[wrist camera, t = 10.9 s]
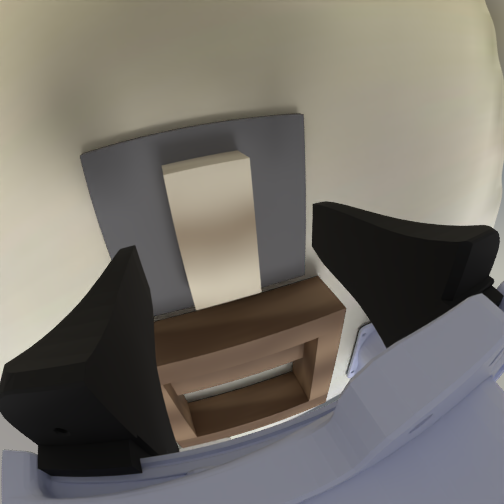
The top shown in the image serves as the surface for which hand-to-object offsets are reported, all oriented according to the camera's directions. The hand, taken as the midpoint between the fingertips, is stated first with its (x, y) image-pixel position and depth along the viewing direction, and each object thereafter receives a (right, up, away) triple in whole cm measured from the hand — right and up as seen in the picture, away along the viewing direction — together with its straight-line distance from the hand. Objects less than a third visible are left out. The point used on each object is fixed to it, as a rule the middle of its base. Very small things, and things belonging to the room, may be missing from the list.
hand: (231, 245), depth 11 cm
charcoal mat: (-2, +2, +6) cm, 6 cm away
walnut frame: (-1, -9, +13) cm, 16 cm away
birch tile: (-1, +1, +5) cm, 5 cm away
